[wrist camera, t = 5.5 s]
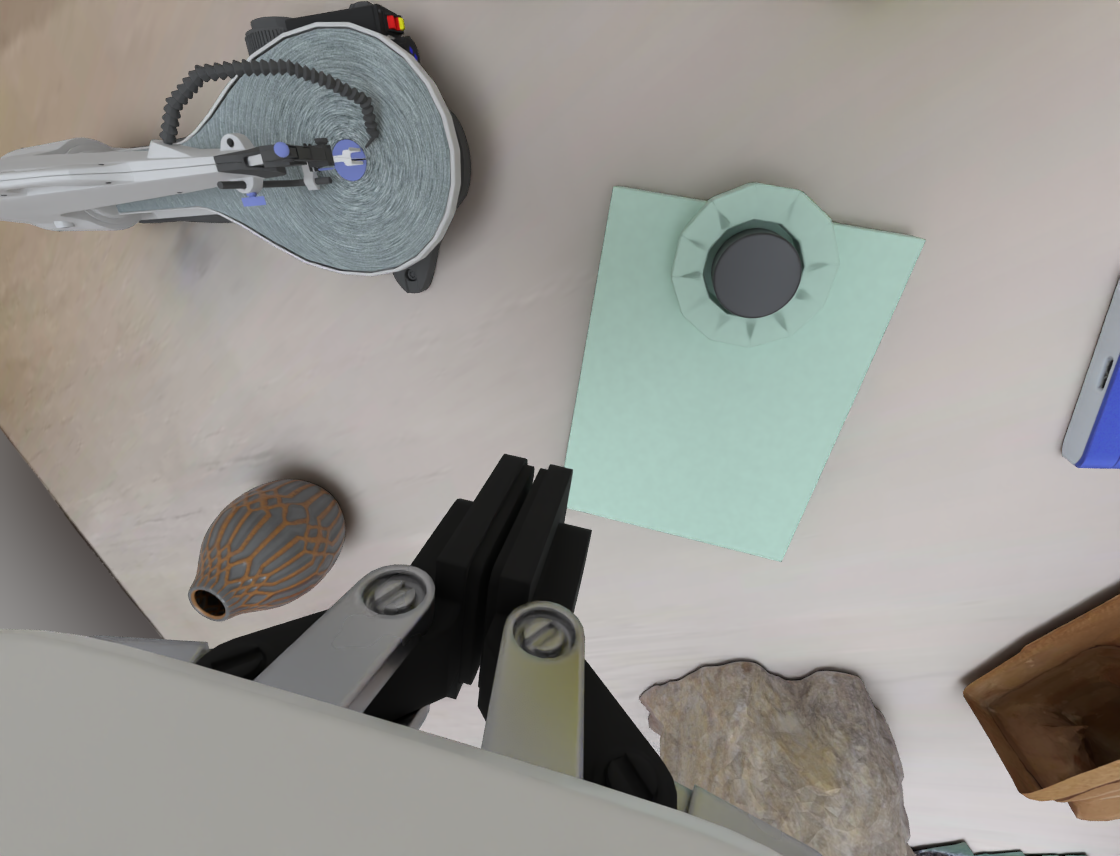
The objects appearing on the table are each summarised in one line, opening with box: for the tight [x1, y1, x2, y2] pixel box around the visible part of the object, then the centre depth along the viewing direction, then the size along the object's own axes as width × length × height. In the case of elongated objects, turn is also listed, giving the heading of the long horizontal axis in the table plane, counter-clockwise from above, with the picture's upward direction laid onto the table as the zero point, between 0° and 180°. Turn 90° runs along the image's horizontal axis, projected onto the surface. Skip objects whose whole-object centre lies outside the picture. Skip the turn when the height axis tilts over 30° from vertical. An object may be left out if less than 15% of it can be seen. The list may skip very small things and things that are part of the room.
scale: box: [564, 182, 926, 562], centre depth 24 cm, size 17×12×3 cm
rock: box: [639, 661, 915, 856], centre depth 29 cm, size 16×13×10 cm
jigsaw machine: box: [0, 1, 471, 293], centre depth 20 cm, size 20×11×12 cm
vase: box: [188, 479, 345, 621], centre depth 31 cm, size 7×7×9 cm
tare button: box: [711, 228, 802, 318], centre depth 19 cm, size 3×3×2 cm
